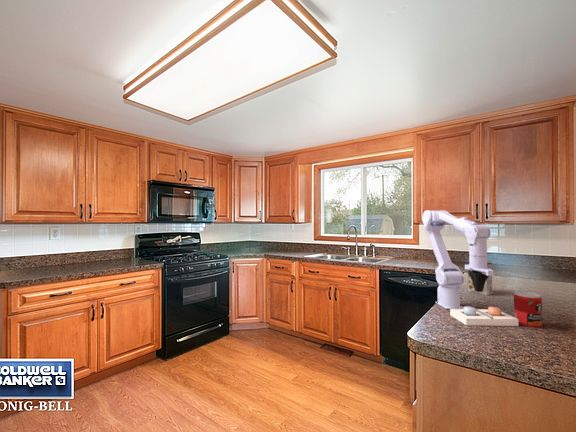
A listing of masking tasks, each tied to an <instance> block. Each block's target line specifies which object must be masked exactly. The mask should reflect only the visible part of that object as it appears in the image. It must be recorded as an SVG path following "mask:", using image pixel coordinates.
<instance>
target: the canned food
mask: <svg viewBox="0 0 576 432" xmlns="http://www.w3.org/2000/svg"><path fill="white" fill-rule="evenodd" d="M513 317H515V318H517V319H518V324H519V325H522V326H524V327H529V328H541V327H542V326H543V298H542V295H541V294H540V293H537V292H534V291H533V292H532V291H526V290H515V291H513Z"/></svg>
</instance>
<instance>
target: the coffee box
mask: <svg viewBox="0 0 576 432" xmlns="http://www.w3.org/2000/svg"><path fill="white" fill-rule="evenodd" d="M467 265H469V261H468V262H467ZM487 268H489V269H491V270H493V262H488V261H487ZM468 272H472V271H471V270H468V271H467V273H468ZM467 275H468V274H467ZM467 279H468V283H467V284H468V285H467V286H468V290H467V291H468V292H469V293H473V294H477V295H484V296H489V295H492V294H493V276H489V277H488V279H487V280H486V282H485V285H484V288H483V292H477V291H475V289H474V286H473V282H472V280H471V278H470V276H469V275H468V276H467Z"/></svg>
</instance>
